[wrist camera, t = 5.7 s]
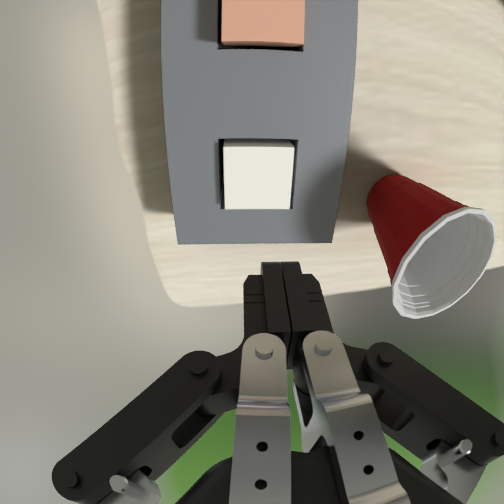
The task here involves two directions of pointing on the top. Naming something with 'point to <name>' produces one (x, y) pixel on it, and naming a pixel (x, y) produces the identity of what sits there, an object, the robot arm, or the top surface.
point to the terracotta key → (263, 23)
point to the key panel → (256, 119)
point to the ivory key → (258, 173)
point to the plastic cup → (428, 244)
